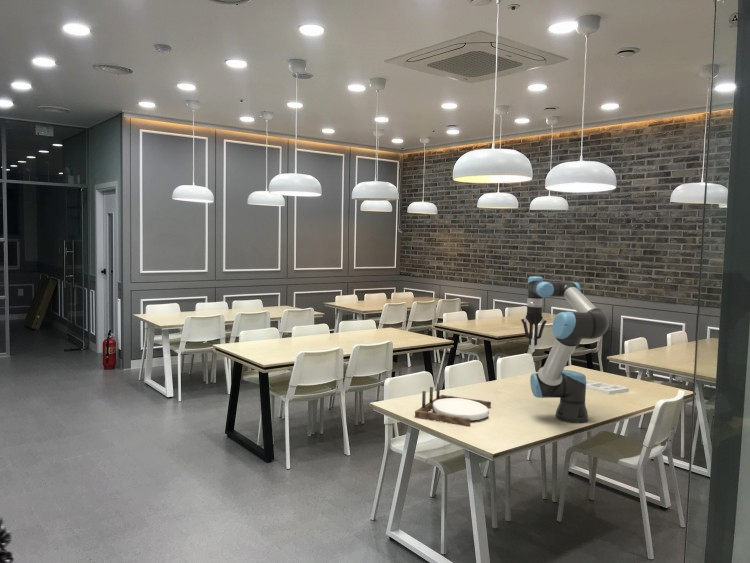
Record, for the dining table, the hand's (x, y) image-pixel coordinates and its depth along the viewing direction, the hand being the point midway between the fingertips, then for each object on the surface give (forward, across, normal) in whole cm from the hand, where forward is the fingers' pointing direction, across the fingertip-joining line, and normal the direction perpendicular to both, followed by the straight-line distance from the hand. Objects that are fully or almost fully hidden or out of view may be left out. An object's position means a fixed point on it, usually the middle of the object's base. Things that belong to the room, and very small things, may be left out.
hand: (532, 351), depth 301 cm
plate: (+30, -28, -32) cm, 52 cm away
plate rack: (+29, -32, -30) cm, 53 cm away
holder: (+30, +20, +72) cm, 80 cm away
